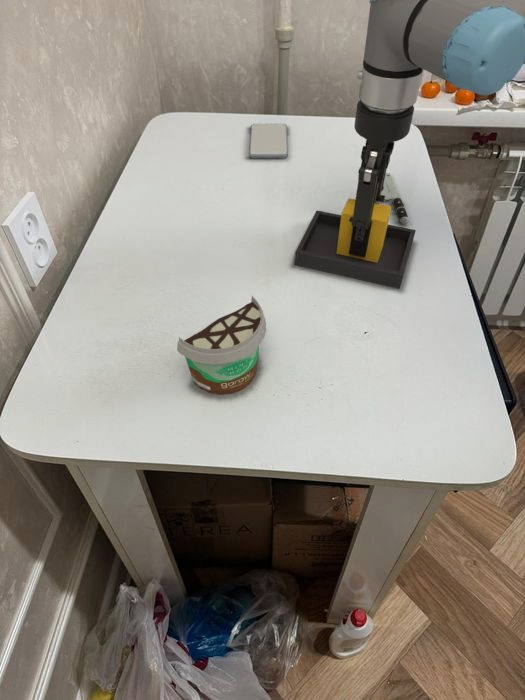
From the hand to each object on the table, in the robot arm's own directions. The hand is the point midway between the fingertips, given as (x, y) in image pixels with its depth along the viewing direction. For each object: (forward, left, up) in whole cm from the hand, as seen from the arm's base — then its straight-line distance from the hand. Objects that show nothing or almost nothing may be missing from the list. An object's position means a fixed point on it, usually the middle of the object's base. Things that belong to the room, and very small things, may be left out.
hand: (361, 244), depth 84 cm
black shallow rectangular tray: (+1, 0, -2) cm, 2 cm away
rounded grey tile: (+28, -32, -2) cm, 42 cm away
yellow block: (0, 0, -1) cm, 1 cm away
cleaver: (-1, -18, -2) cm, 18 cm away
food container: (+10, +32, -2) cm, 34 cm away
